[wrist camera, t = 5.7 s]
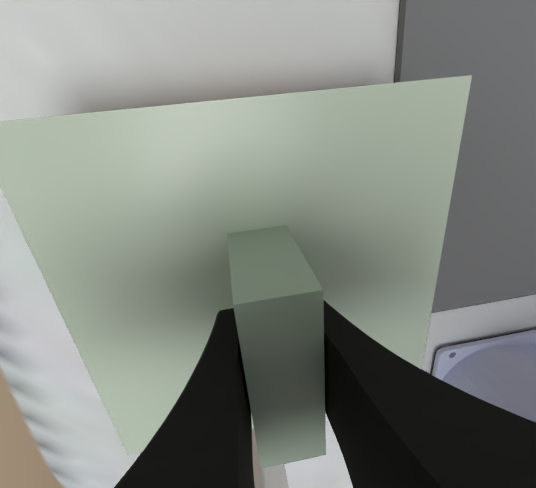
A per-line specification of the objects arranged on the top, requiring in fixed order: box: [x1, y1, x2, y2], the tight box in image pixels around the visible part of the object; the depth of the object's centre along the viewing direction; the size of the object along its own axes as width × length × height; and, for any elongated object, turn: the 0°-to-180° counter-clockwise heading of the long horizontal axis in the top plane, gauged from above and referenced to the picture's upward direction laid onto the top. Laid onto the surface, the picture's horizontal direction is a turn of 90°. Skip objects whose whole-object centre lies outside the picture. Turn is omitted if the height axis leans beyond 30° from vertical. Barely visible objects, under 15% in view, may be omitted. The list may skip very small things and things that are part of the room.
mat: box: [394, 0, 536, 313], centre depth 17 cm, size 17×17×1 cm
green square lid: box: [0, 75, 472, 469], centre depth 10 cm, size 14×14×5 cm
